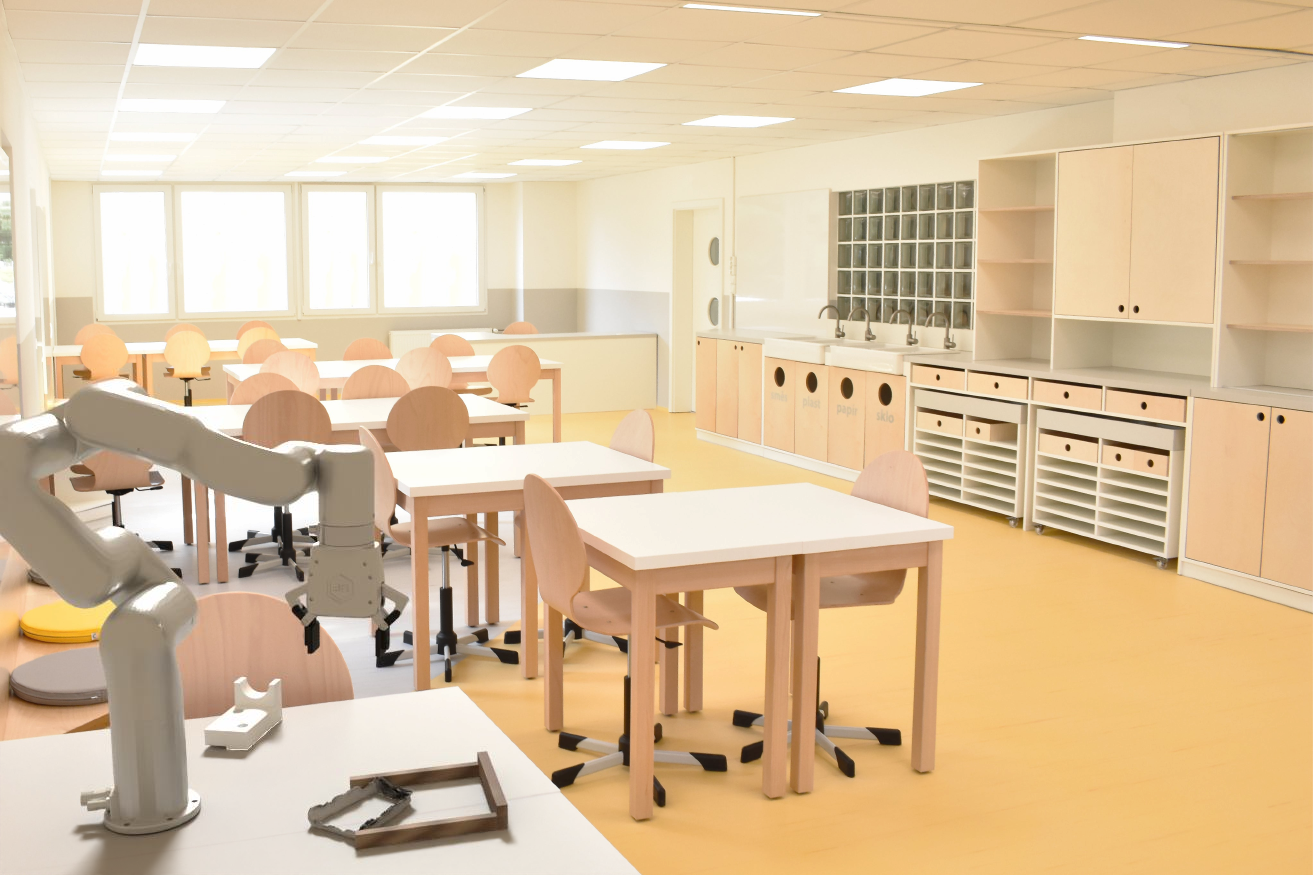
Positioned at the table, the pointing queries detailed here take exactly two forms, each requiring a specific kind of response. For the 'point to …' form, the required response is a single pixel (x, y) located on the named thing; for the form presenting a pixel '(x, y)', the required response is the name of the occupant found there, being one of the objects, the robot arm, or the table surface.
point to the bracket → (246, 716)
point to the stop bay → (444, 826)
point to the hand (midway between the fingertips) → (347, 652)
